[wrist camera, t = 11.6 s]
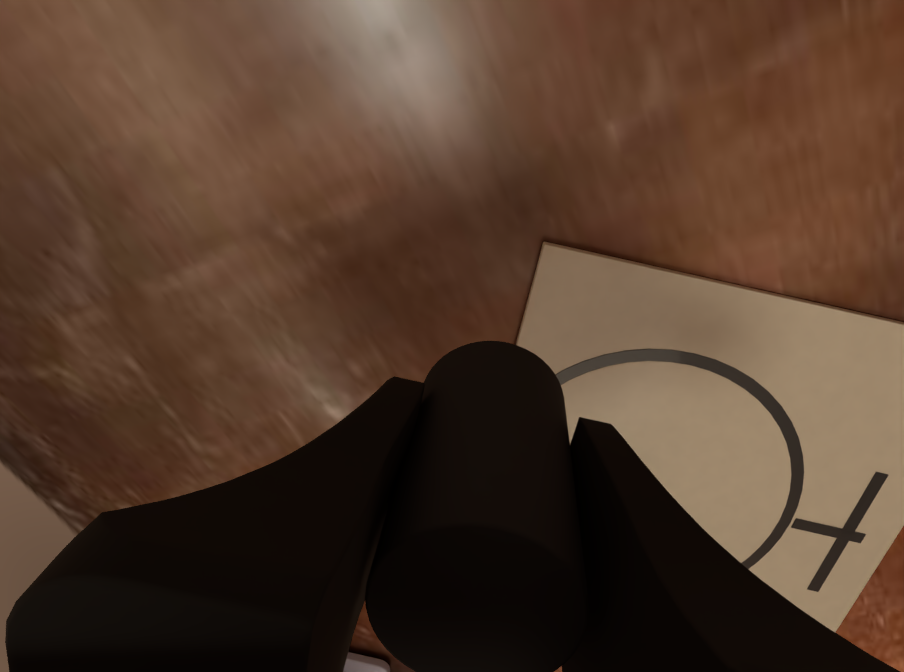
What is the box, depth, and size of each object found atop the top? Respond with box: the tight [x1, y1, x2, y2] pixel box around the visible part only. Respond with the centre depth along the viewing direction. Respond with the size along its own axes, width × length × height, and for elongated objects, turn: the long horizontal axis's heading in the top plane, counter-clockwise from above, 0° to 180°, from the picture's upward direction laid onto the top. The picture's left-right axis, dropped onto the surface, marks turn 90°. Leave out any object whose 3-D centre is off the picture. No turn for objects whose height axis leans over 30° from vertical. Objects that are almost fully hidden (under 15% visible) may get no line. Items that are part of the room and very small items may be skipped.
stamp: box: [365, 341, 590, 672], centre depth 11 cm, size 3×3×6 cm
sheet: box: [515, 242, 904, 632], centre depth 22 cm, size 15×14×1 cm
